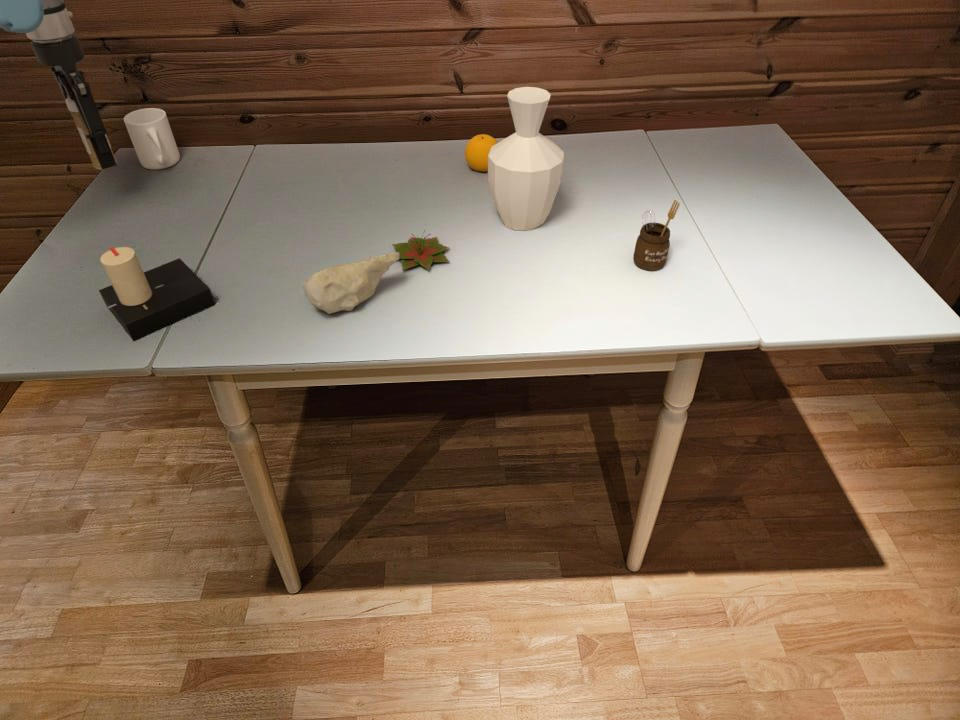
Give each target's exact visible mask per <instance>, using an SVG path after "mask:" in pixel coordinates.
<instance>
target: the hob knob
mask: <svg viewBox="0 0 960 720" xmlns="http://www.w3.org/2000/svg"><path fill="white" fill-rule="evenodd" d="M100 263H101V265H102V267H103V270H104V272H105V273H106V275H107V277H108V279H109V282H110V284H111V285H112V286H113V288H114V290H115V292H116V294H117V296H118V298H119V300H120V302H121V303H122V304H123V305H126V306H135V305H139V304H142V303H144V302H146V301H147V300H149V299H150V297H151V296H152V290H151V288H150V286H149V284H148V281H147V279H146V277H145V274H144V272H145V271H144V270H143V268H142V266H141V262H140V261H139V258H138V256H137V254H136V252H135V250H134V249H133V248H131V247H127V246H119V247H110V248H109V250H107V251H105V252H104V253H103V254H102V255H101V257H100Z"/></svg>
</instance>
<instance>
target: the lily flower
mask: <svg viewBox="0 0 960 720" xmlns="http://www.w3.org/2000/svg"><path fill="white" fill-rule="evenodd" d="M425 232H426V230H424V231H423V233H425ZM411 235H412V236H410V237H408V240H407V242H399V243H396V244H395V243H392V244H391V245H392V246H393V248H394V249H395V250H396V252H399V254H400V255H399V259H402V260H401V271H404V270H407V269H410V268H412V267H416V266H419V265H420V266H422V267H423V268H425V269H426V270H427V271H428V272H429V271H430V268H431V265H432V264H433V263H450V260H449V259H448V258H447V256H446V255H445V254H444V253H442V252H444V251H447V250H450V247H448V246H446V245H443V244H441V243H439V239H438V236H434V237H429V236H430V235H432V233H428V234H427V235H426V236H423V235H424V234H422V236H421V237H416V236H415V235H414V234H413V232H412V233H411Z"/></svg>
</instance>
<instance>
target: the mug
mask: <svg viewBox="0 0 960 720" xmlns="http://www.w3.org/2000/svg"><path fill="white" fill-rule="evenodd" d="M166 113H167V112H165V110H163V109H162V108H157V107H156V108H155V107H149V108H148V107H147V108H140V109H136V110H133V111H131V112H128V113H127V114H125V116H124V117H123V122H124V125H125V128H126V131H127V132H128V135H129V138H130V140H131V143H132V145H133V146H132V147H133V148H134V151H135V154H136V156H137V159H138V161H139V163H140V165H141V166H142V167H143V168H144V169H147V170H152V171H158V170H165V169H168V168H171V167H173V166H175V165H176V164H177V163H178V162H179V161H180V158H181V156H180V152H179V149H178V146H177V143H176V140H175V137H174V133H173V131H172V127H171V125H170V122H169V119H168V116H167V114H166Z"/></svg>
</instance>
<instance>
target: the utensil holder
mask: <svg viewBox="0 0 960 720" xmlns="http://www.w3.org/2000/svg"><path fill="white" fill-rule="evenodd" d="M680 204H681V203H680V202H679V201H678V200H677V199H674V200H673V202H672V204H671V207H670V209H669V210H668V213H667V220H666V223H665V224H664V223H660V222H656V221H657V220H656V219H654V221H653V222H652V218H653V216H652V210H646V211H645V212H643V213H642V215H641V216H642V217H641V218H644V217H645V218H644V221H645V224H644V222H642V223H641V224H642V226H641V228H640V231H639V234H638V236H637V237H636V242H635V247H634V252H633V263H634V264H635V266H637V268H639V269H642V270H644V271H649V272H654V271H659V270H661V269H663V268H664V267H665V265H666V263H667V261H668V260H667V259H668V255H669V251H670V245H671V241H670V238H671V230H670V228H669V227H668V226H669V224H670V221H671V220H674V219H675V216H676V214H677V212H678V209H679V207H680V206H681V205H680ZM649 214H650V218H649V217H648V216H649ZM655 214H656V213H655V212H653V215H654V216H656V215H655ZM646 215H647V216H646ZM647 218H649V219H650V220H649V222H647Z"/></svg>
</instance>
